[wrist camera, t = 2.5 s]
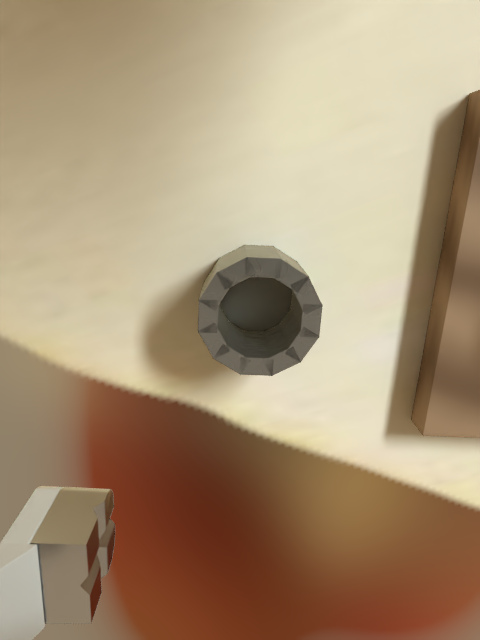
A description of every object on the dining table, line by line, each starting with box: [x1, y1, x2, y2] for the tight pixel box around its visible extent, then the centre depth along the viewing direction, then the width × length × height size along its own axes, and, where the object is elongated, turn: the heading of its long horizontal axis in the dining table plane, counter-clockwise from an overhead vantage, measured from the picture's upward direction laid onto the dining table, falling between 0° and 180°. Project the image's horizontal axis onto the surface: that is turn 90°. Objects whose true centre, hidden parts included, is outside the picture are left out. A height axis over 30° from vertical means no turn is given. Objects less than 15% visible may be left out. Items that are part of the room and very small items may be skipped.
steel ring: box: [198, 245, 322, 376], centre depth 26 cm, size 6×6×4 cm
